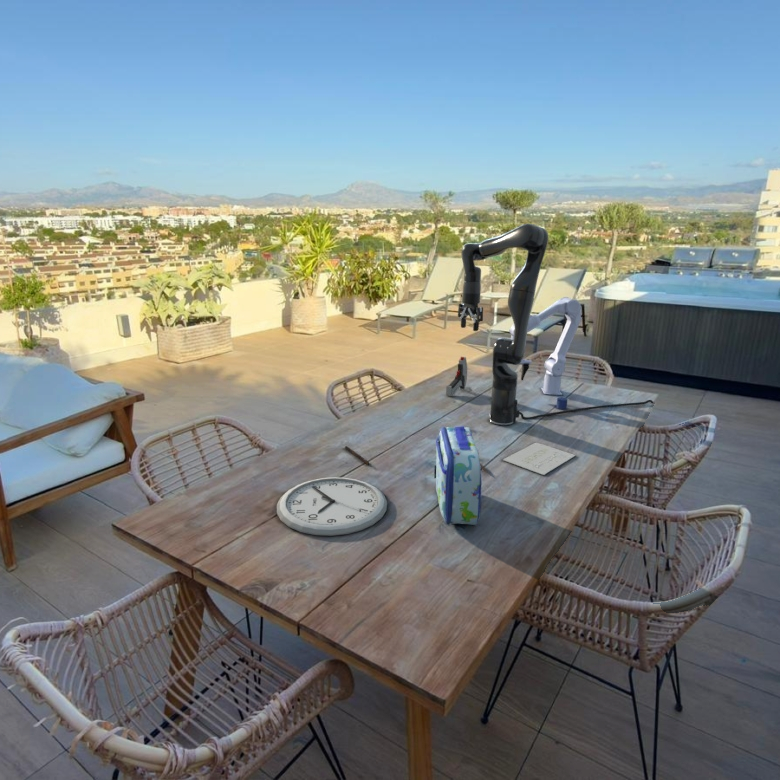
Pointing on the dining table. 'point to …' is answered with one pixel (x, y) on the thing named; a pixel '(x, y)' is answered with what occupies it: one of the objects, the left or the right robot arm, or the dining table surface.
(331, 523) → the wall clock
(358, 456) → the thin brown stick
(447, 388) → the toy gun
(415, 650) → the dining table surface
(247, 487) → the dining table surface
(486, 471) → the fork
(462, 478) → the lunch box
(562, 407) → the can
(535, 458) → the invitation card
